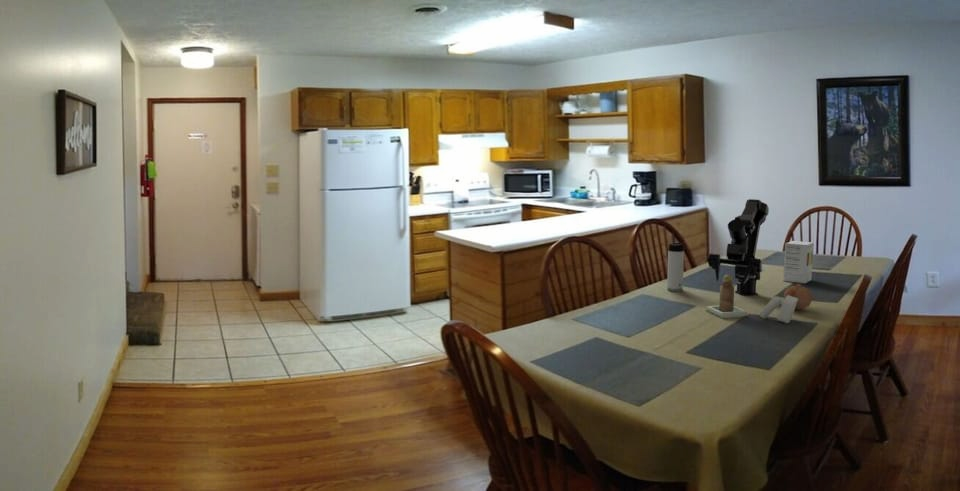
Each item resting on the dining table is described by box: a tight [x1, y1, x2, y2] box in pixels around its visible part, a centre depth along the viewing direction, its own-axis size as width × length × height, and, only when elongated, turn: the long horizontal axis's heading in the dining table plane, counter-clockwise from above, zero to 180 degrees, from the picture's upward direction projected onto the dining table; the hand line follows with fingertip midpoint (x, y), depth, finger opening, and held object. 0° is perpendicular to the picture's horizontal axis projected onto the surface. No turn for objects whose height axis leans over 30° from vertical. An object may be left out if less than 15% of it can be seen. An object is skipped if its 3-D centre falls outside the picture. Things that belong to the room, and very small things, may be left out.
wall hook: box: [758, 295, 798, 324], centre depth 239 cm, size 8×10×10 cm
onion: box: [783, 283, 813, 311], centre depth 251 cm, size 10×9×10 cm
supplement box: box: [782, 240, 815, 284], centre depth 299 cm, size 10×9×17 cm
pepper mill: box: [718, 274, 735, 312], centre depth 247 cm, size 5×5×14 cm
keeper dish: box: [705, 305, 748, 319], centre depth 248 cm, size 10×10×2 cm
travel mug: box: [666, 241, 686, 293], centre depth 285 cm, size 6×7×20 cm
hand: (730, 282), depth 252 cm, fingers open, 9 cm apart
